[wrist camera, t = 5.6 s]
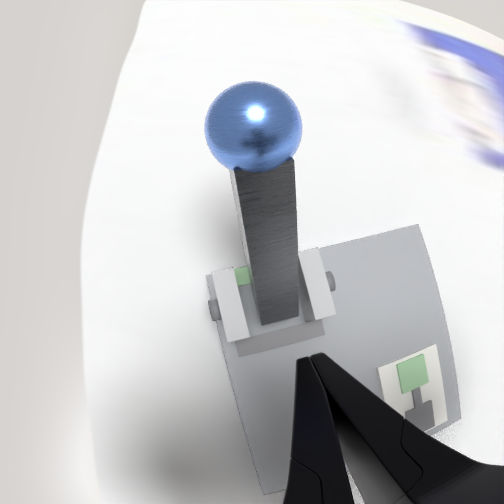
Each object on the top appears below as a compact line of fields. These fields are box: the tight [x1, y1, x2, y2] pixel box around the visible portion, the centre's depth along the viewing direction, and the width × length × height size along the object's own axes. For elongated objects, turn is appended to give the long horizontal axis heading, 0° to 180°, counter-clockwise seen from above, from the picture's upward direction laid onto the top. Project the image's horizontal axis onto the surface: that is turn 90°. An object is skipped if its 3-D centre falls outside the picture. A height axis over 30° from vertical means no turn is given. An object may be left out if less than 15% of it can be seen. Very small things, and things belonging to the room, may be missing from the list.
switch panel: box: [206, 224, 461, 495], centre depth 15 cm, size 13×13×4 cm
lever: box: [205, 81, 302, 326], centre depth 12 cm, size 3×3×10 cm
